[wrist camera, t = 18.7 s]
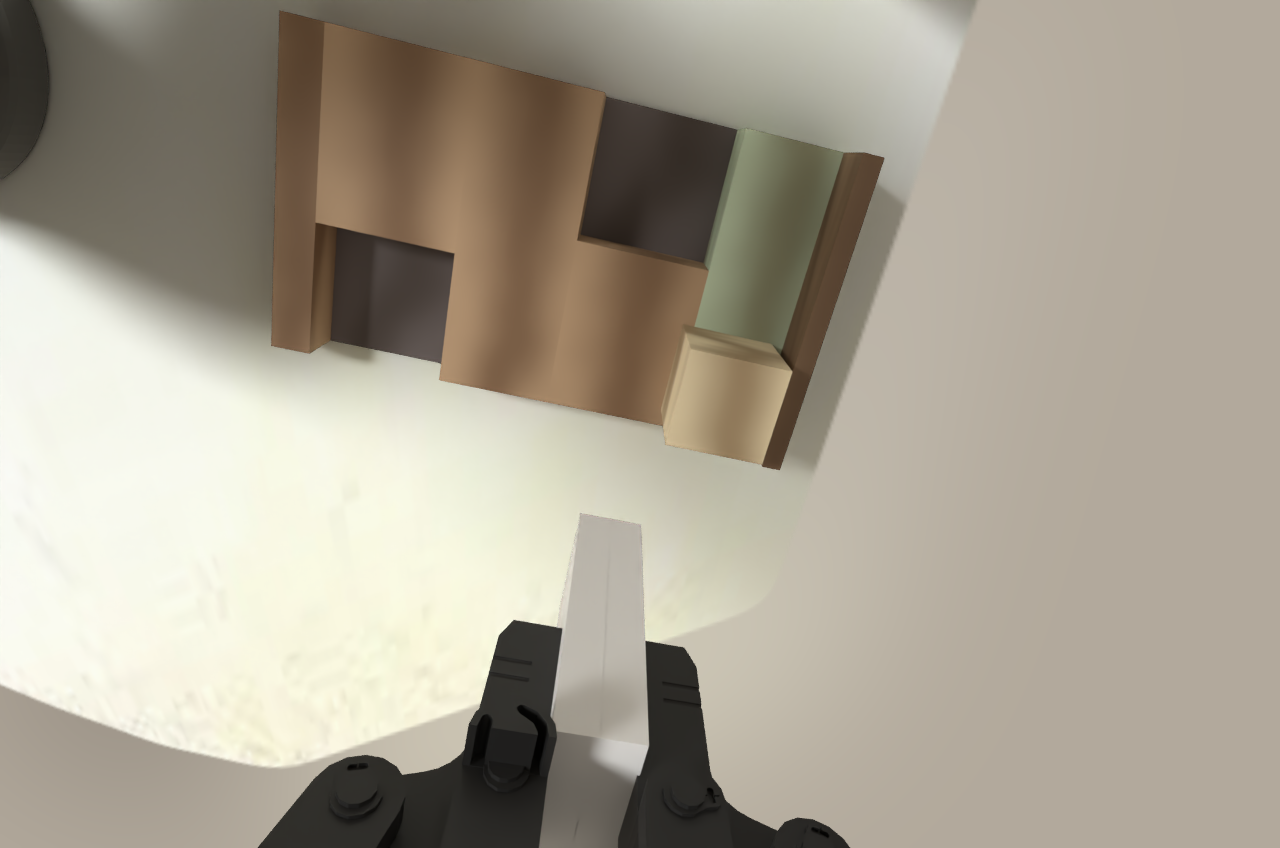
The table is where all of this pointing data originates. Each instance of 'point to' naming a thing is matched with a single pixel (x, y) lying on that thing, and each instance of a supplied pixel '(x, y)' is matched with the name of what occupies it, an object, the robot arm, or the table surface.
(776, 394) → the maple block
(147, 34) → the table surface
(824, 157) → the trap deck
